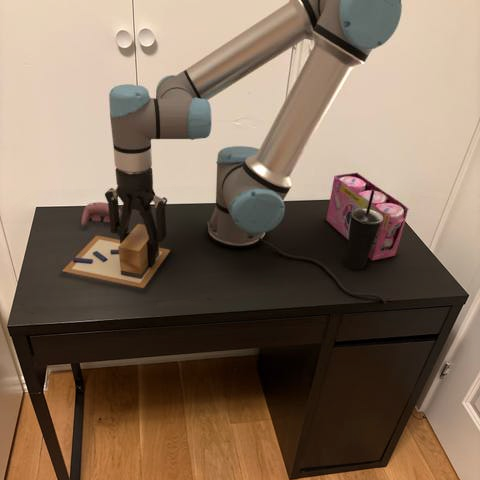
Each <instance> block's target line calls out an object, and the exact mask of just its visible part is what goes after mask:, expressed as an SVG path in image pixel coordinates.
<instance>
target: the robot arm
mask: <svg viewBox="0 0 480 480" xmlns="http://www.w3.org/2000/svg"><path fill="white" fill-rule="evenodd" d="M402 8H403V3H402V0H288V2H286V3H285V4H283V5H282V6H281V7H279V8H278V9H276V10H274V11H273V12H271V13H270V14H268V15H267V16H266V17H264V18H262V19H261V20H259V21H258V22H256V23H254V24H253V25H251V26H250V27H249V28H247V29H245V30H244V31H243V32H241V33H240V34H238V35H236V36H235V37H233V38H232V39H230V40H229V41H227V42H225V43H224V44H222V45H221V46H220V47H218V48H216V49H215V50H213V51H212V52H211V53H209V54H208V55H206V56H204V57H203V58H201V59H200V60H198V61H197V62H196V63H193V64H192V65H191V66H189V67H187V68H186V69H185V70H183V71H181V72H179V73H178V74H175V75H174V74H169V75H166V76H164V77H162V78H161V79H160V80H159V81H158V83H157V86H156V89H155V97H151V96H150V94H149V90H148V89H147V88H146V87H145V86H143V85H139V84H137V85H136V84H132V83H129V84H126V83H125V84H119V85H116V86H114V87H113V88H111V89H110V91H109V94H108V101H109V117H110V118H109V119H110V127H111V137H112V145H113V146H112V147H113V159H114V167H115V179H116V185H117V187H116V188H113V187H111V188H109V189H108V190H107V191H106V192H104V197H105V199H106V201H107V203H108V207H109V218H110V222H109V227H110V232H111V233H112V234H116V235H117V236H118V237H119V240H120V244H121V243H122V242H123V241H124V240H125V238H126V237H127V236H128V235H129V234H130V233H131V232H129V231H130V229H129V226H130V221H131V217H132V212H133V210H136V211H138V212H139V215H140V216H141V218H142V220H143V223H144V224H143V225H145V227H146V230H147V233H148V236H149V241H148V242H147V253H148V267H150V268H151V267H152V266H153V265H154V263H155V262H156V259H155V255H156V254H157V252H158V250H159V248H160V245H159V246H158V242H159V243H162V242H163V241H164V240H165V239H166V237H167V221H166V205H167V204H168V199H167V198H166V197H165V196H164V197H162V198H161V197H159V196H157V195H156V192H155V190H154V177H153V174H154V173H153V168H152V166H153V157H152V140H192V141H194V140H199V139H200V140H201V139H207V138H209V137H210V135H211V132H212V123H213V122H212V107H211V103H210V101H209V100H210V99H212V98H213V97H215V96H217V95H218V94H220V93H221V92H223V91H225V90H226V89H228V88H229V87H231V86H232V85H234V84H236V83H237V82H239V81H240V80H243V78H245V77H247V76H248V75H250V74H251V73H253V72H255V71H257V70H258V69H260V68H261V67H263V66H264V65H266V64H267V63H269V62H271V61H273V60H275V58H277V57H279V56H280V55H282V54H284V53H285V52H286V51H288V50H290V49H292V48H293V47H295V46H296V45H298V44H299V43H301V42H302V41H304V40H308V41H313V44H314V45H313V46H312V49H311V51H310V52H309V55H308V57H307V58H306V61H305V62H304V64H303V66H302V68H301V69H300V71H299V73H298V75H297V77H296V79H295V81H294V83H293V85H292V87H291V88H290V91H289V92H288V93H287V96H286V97H285V100H284V102H283V104H282V106H281V108H280V109H279V111H278V113H277V115H276V117H275V119H274V121H273V122H272V124H271V126H270V128H269V130H268V132H267V134H266V136H265V137H264V140H263V141H262V144H261V145H260V147H259V148H258V147H254V146H253V147H252V146H243V145H237V146H235V145H234V146H226V147H224V148H221V149H220V150H219V151H218V152H217V157H216V162H215V164H216V187H215V206H214V207H215V208H214V210H213V212H212V215H211V218H210V219H209V221H207V235H208V238H209V239H210V240H211V241H212V242H213V243H214V244H216V245H218V246H221V247H223V248H228V249H232V250H233V249H234V250H244V249H250V248H254V247H257V246H259V245H260V244H262V243H263V244H264V245H266V246H267V247H269V248H270V249H272V250H273V251H275V252H276V253H278V254H279V255H281V256H283V257H285V258H288V259H292V260H301V261H308V262H312V263H314V264H317V265H318V266H319V267H321V268H322V269H323V270H324V271H325V272H326V273H327V274H328V275H329V276H330V277H331V278H332V279H333V280H334V281H335V282H336V284H337V285H338V287H339V288H340V289H341V290H342V291H343V292H344V293H346V294H348V295H350V296H353V297H362V298H363V297H370V298H371V297H372V298H376V299H378V300H380V301H381V302H382V304H385V305H387V304H388V302H387V301H386V299H385V298H384V297H383V296H381V295H379V294H377V293H372V292H371V293H370V292H363V293H362V292H353V291H351V290H349V289H348V288H346V287H345V286H344V285H343V283H341V281H340V279H339V278H338V276H337V275H335V274H334V273H333V271H331V270H330V269H329V268H328V267H327V266H326V265H325V264H324V263H322V262H320V261H319V260H317V259H314V258H312V257H308V256H299V255H293V254H289V253H285V252H283V251H282V250H280V249H279V248H278V247H276V246H275V245H273V244H272V243H270V242H268V241H266V239H265V238H266V233H268V232H270V231H272V230H274V229H275V228H277V227H278V226H279V225H280V223H281V222H282V220H283V218H284V216H285V211H286V208H285V202H284V200H285V198H286V197H287V195H288V193H289V192H290V190H291V188H292V186H293V183H292V178H291V175H292V173H293V171H294V169H295V168H296V165H297V164H298V162H299V160H300V159H301V157H302V155H303V154H304V152H305V150H306V149H307V147H308V145H309V143H310V142H311V140H312V138H313V136H314V134H315V133H316V131H317V129H318V128H319V126H320V125H321V122H322V121H323V119H324V118H325V116H326V114H327V113H328V110H329V109H330V107H331V105H332V103H333V102H334V100H335V99H336V97H337V95H338V93H339V91H340V90H341V89H342V86H343V84H344V83H345V81H346V80H347V77H348V76H349V74H350V73H351V71H352V70H353V69H354V68H357V67H358V66H362V65H364V64H365V62H366V61H367V59H368V57H369V56H370V54H371V52H372V51H373V50H376V49H377V48H379V47H382V46H383V45H385V44H386V43H387V42H388V41H389V40H390V39H391V38H392V36H393V35H394V34H395V32H396V30H397V28H398V26H399V24H400V21H401V17H402V10H403V9H402ZM119 199H120V201H121V202H122V208H121V212H122V213H121V216H120V217H121V218H119V209H120V207H119ZM152 202H153V203H154V208H155V219H154V215H153V212H152V206H151V204H152ZM156 227H157V228H156Z"/></svg>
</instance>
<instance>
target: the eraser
mask: <svg viewBox="0 0 480 480" xmlns="http://www.w3.org/2000/svg"><path fill="white" fill-rule="evenodd" d="M156 228H157V226H156ZM129 233H130V234H129V235H128V236H127V237H126V238H125V240H124V241H123V242H122V243H121V244H120V245H119V246H118V249H119V259H120V268H121V275H125V276H129V277H134V278H139V279H142V277H143V276H144V275H145V273H146V272H147V271H148V269H149V268H150V267H148V253H147V242H148V241H149V236H148V233H147V230H146V227H145V224H142V223H137V225H136V226H134V228H133V229H132V230H131V231H130V232H129ZM159 243H160V242H158V246H159V247H160V244H159ZM158 255H159V250H158V252H157V254H156V255H155V259H156V258H157V257H158Z"/></svg>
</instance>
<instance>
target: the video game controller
mask: <svg viewBox="0 0 480 480" xmlns="http://www.w3.org/2000/svg"><path fill="white" fill-rule="evenodd" d="M121 212H122V210H121V209H120V208H119V218H120V217H121V216H122V213H121ZM101 215H105V216H104V217H103V222H104V223H110V218H109V207H108V202H104V201H103V202H102V201H101V202H99V201H98V202H97V201H96V202H91V203H88V204H86V206H85V207H84V209H83V212H82V216H81V221H80V222H81V223H80V224H81V226H86V225H87V224H88V223H89V222H90V219H91V221H94V222H101V221H102V217H101ZM120 219H121V218H120Z"/></svg>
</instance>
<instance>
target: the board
mask: <svg viewBox="0 0 480 480" xmlns="http://www.w3.org/2000/svg"><path fill="white" fill-rule="evenodd" d="M119 245H120V239H116V238H112V237H106V236H101V235H95V236H94V237H93V238H92V239H91V240H90V241H89V242H88V244H86V245H85V247H84V248H82V250H80V252H78V253H77V255H75V257H74V258H85V259H93V263H92V264H87V263H76V262H73V259H72V260H71V261H70V262H69V263H68V264H67V265H66V266H65V267H64V268H63V269H62V270H61V271H62V272H64V273H69V274H74V275H79V276H84V277H89V278H93V279H98V280H104V281H108V282H112V283H117V284H123V285H127V286H132V287H137V288H142V289H145V287H146V285H147V284H148V283H149V281H150V280H151V279H152V278H153V276H154V274H155V273H156V272H157V270H158V269H159V268H160V266H161V265H162V263H163V262H164V260H165V259H166V257H167V256H168V255H169V253H170V252H171V249H168V248H163V247H159V255H158V257H157V258H156V262H155V263H154V265H153V266H152V267H151V268H149V269H148V271H147V272H146V273H145V275H144V276H143V277H142V279H139V278H134V277H129V276H125V275H121V268H120V259H119V254H111V253H110V251H111V250H119V249H118V246H119ZM95 251H98V252H99V253H100V254H102V255H103V256H105V257H106V258H107V261H105V262H102V261H101V260H100V259H98V258H97V257H96V256H94V255H93V252H95Z"/></svg>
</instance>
